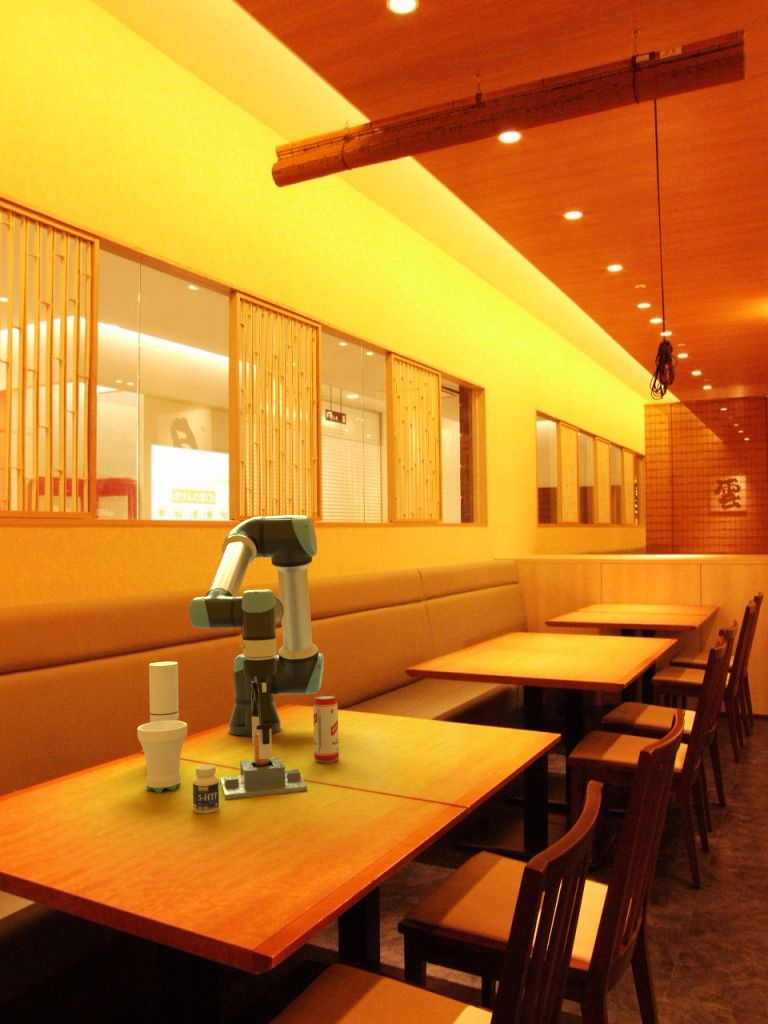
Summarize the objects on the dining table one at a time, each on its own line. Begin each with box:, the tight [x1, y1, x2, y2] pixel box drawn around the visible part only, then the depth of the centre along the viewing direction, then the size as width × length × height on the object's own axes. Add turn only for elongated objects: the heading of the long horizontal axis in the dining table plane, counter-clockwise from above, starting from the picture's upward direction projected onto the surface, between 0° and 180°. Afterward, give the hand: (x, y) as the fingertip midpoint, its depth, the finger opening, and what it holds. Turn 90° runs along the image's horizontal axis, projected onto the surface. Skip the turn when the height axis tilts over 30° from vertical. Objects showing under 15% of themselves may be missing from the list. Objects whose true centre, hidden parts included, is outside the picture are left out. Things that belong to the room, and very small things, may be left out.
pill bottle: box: [192, 764, 220, 814], centre depth 174 cm, size 5×5×9 cm
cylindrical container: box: [148, 661, 180, 723], centre depth 215 cm, size 7×7×25 cm
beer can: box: [312, 694, 340, 764], centre depth 211 cm, size 6×6×16 cm
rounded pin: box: [253, 732, 269, 767], centre depth 190 cm, size 3×3×12 cm
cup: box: [136, 720, 188, 794], centre depth 191 cm, size 11×11×14 cm
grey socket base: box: [219, 756, 308, 800], centre depth 190 cm, size 14×18×5 cm
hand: (261, 751), depth 190 cm, fingers open, 13 cm apart
